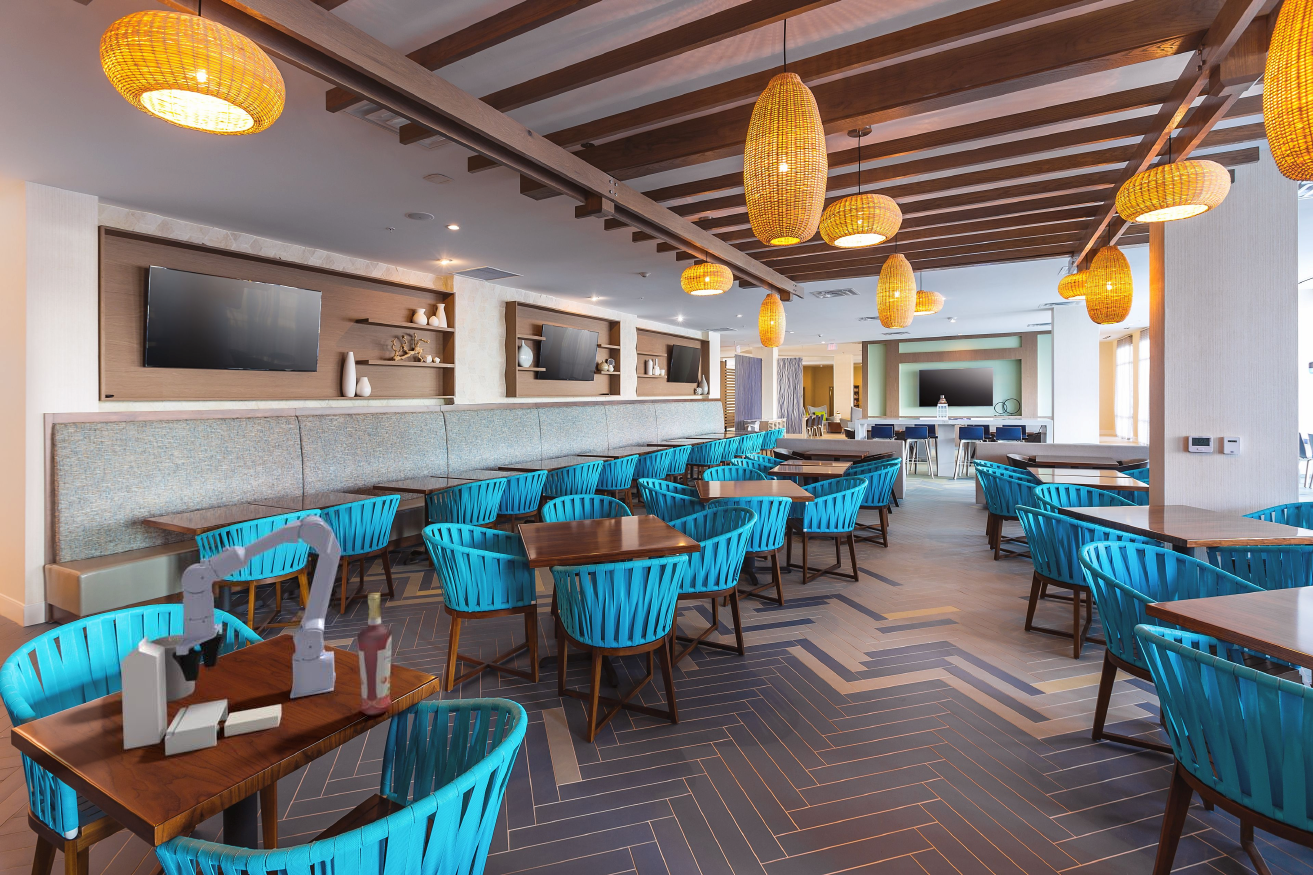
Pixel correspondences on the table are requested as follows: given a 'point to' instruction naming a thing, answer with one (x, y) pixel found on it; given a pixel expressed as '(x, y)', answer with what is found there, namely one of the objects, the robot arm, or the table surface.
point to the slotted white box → (195, 727)
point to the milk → (144, 695)
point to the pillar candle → (174, 670)
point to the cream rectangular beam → (252, 720)
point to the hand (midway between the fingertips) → (201, 673)
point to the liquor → (375, 661)
